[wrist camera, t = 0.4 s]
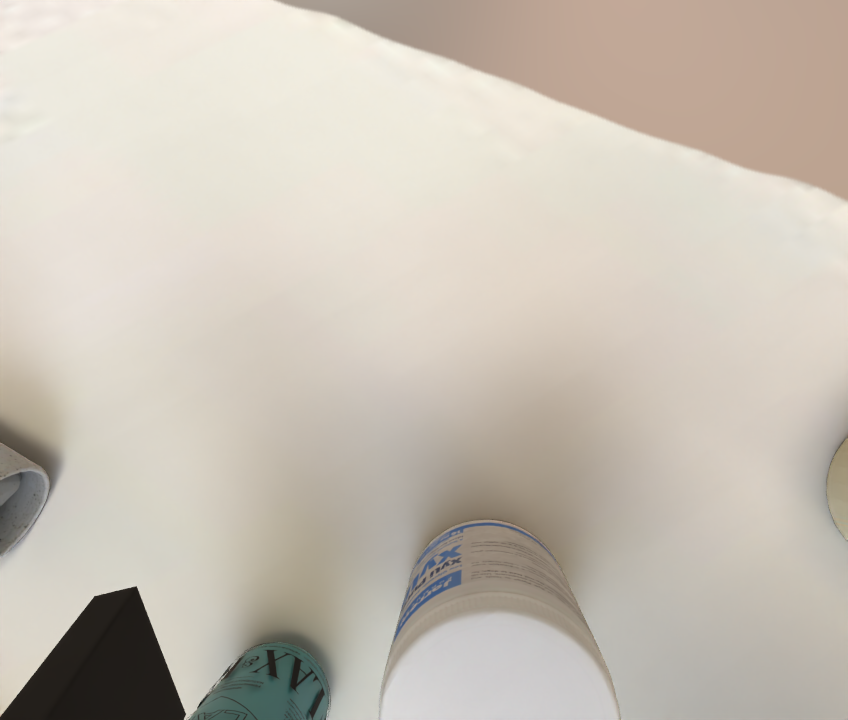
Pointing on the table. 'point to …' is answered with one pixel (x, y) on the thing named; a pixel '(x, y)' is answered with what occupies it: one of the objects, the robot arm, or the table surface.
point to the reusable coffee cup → (839, 489)
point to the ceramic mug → (19, 496)
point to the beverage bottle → (269, 687)
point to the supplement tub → (493, 635)
